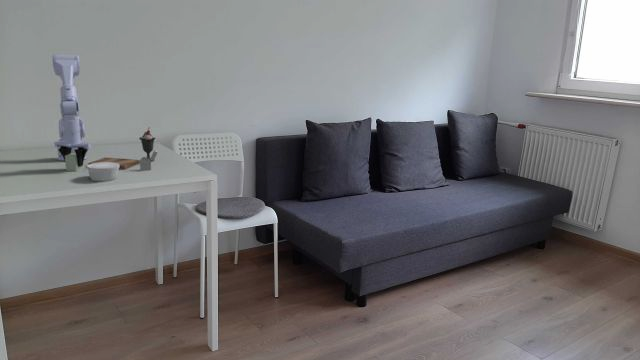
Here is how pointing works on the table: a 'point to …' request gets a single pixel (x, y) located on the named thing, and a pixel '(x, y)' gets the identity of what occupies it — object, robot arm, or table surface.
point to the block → (72, 163)
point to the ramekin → (103, 171)
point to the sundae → (147, 143)
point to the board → (119, 162)
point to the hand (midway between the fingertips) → (74, 165)
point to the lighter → (147, 161)
